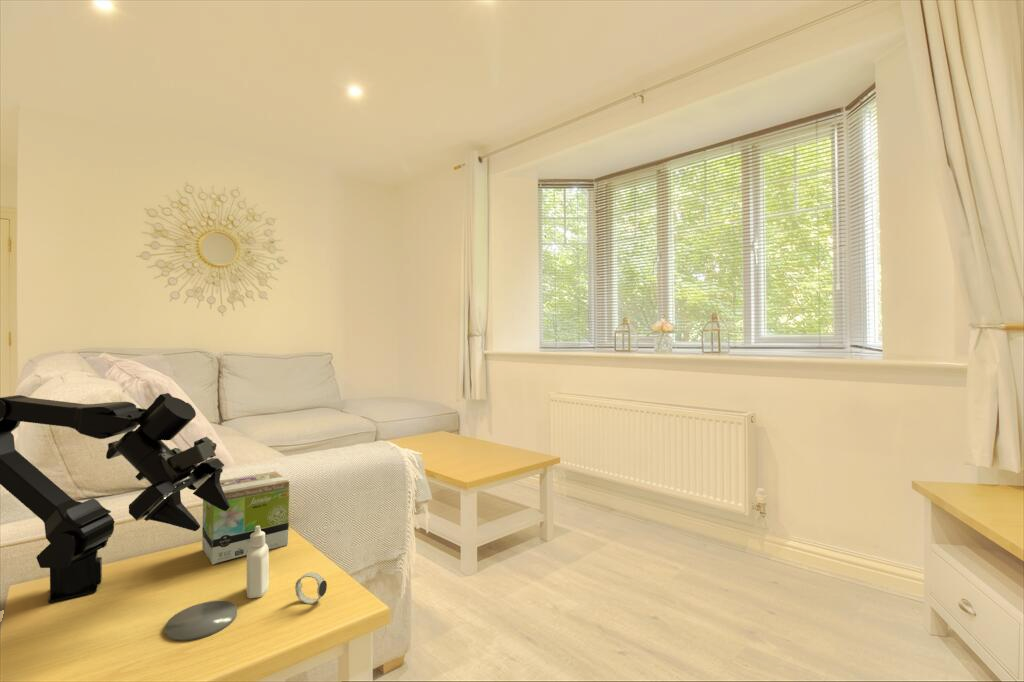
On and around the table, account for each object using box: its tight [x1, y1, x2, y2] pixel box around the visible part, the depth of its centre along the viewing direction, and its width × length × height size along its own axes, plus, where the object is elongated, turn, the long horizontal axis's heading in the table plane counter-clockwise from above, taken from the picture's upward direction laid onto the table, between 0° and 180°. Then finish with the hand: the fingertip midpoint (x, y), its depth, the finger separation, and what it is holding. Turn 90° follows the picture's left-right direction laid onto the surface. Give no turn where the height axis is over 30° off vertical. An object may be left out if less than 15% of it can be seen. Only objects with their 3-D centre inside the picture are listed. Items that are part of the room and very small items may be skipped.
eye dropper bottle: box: [246, 526, 270, 599], centre depth 90 cm, size 4×6×12 cm
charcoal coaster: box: [164, 600, 238, 642], centre depth 80 cm, size 10×10×1 cm
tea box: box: [201, 471, 290, 565], centre depth 107 cm, size 15×10×15 cm, turn 132°
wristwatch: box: [294, 571, 328, 605], centre depth 87 cm, size 3×5×5 cm, turn 81°
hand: (213, 518), depth 89 cm, fingers open, 9 cm apart
